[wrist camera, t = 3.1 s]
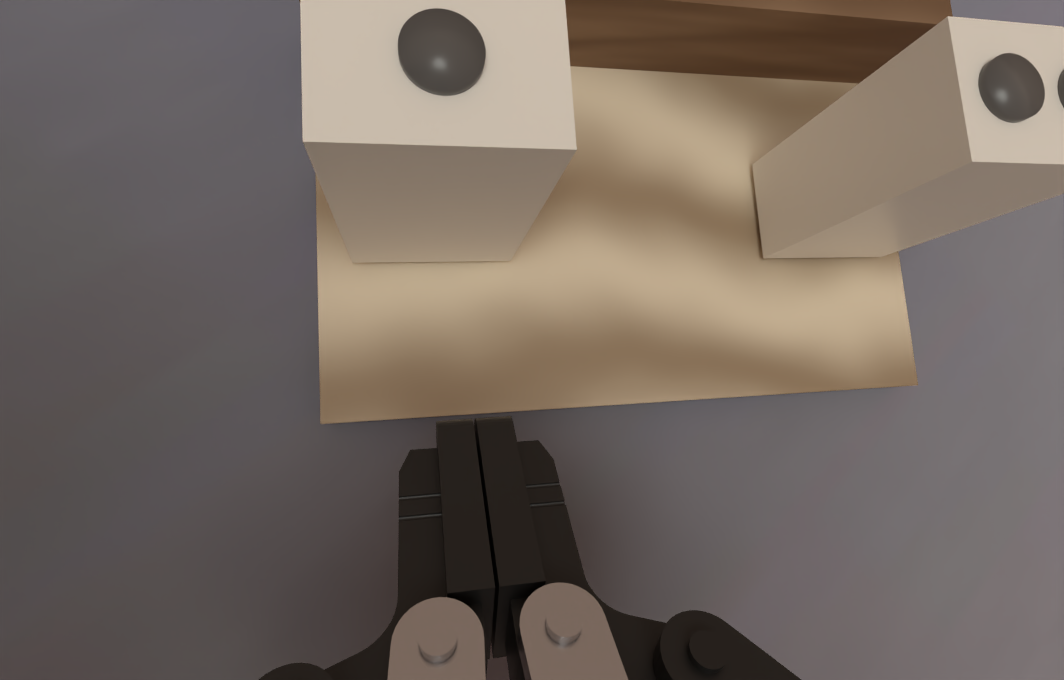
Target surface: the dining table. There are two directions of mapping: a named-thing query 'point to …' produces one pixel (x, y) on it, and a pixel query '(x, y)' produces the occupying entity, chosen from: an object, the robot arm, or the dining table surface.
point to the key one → (436, 122)
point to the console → (642, 236)
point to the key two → (922, 145)
